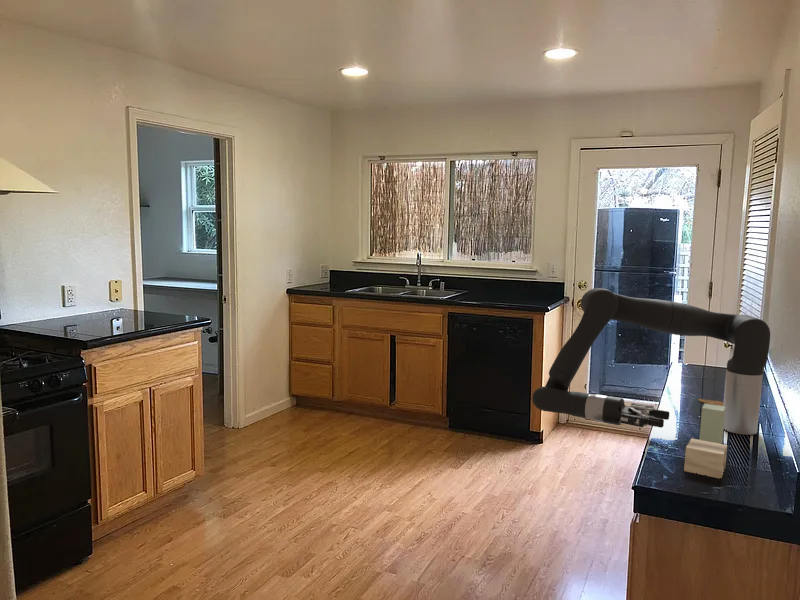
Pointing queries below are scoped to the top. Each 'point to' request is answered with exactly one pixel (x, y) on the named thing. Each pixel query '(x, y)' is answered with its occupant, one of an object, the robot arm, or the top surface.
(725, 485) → the top surface
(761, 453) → the top surface
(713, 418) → the sage block
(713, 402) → the shard
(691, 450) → the birch base block
